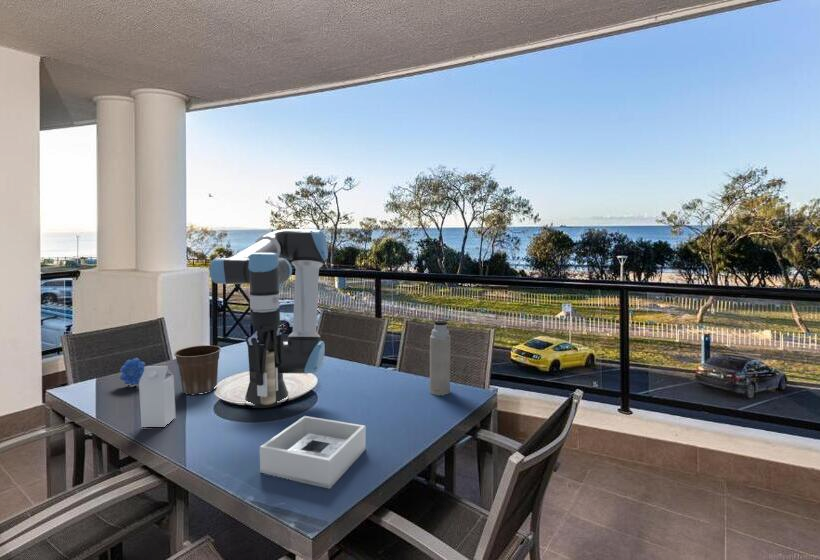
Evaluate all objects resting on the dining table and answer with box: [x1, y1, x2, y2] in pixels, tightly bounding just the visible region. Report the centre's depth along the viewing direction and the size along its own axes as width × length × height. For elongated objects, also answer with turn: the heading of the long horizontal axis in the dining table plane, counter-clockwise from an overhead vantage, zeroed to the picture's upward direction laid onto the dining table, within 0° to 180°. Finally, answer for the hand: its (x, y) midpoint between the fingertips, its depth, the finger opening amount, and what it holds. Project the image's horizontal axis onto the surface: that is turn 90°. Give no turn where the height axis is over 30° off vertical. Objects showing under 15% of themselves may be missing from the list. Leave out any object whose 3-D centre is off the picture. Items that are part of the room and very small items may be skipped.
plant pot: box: [174, 344, 222, 395], centre depth 164 cm, size 16×16×16 cm
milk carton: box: [138, 365, 176, 428], centre depth 133 cm, size 7×7×19 cm
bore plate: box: [288, 433, 346, 458], centre depth 112 cm, size 12×12×3 cm
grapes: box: [119, 357, 146, 386], centre depth 168 cm, size 12×7×12 cm, turn 82°
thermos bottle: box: [429, 320, 452, 396], centre depth 162 cm, size 8×8×28 cm
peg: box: [260, 351, 276, 405], centre depth 115 cm, size 4×4×14 cm
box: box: [259, 415, 367, 490], centre depth 111 cm, size 20×20×7 cm
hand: (267, 392), depth 115 cm, fingers closed on peg, 4 cm apart
